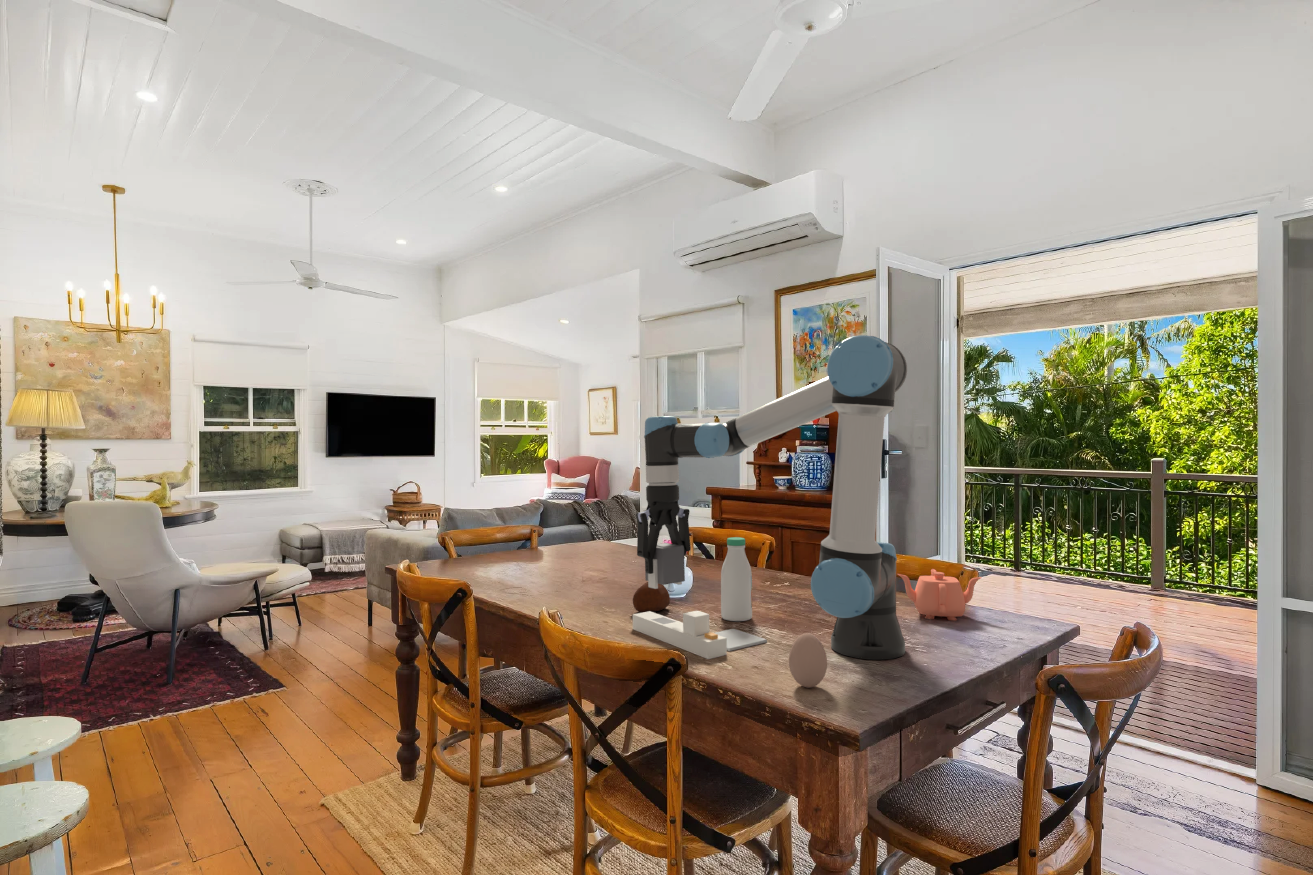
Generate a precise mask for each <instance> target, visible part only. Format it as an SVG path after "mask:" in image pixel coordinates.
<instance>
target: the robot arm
mask: <svg viewBox="0 0 1313 875" xmlns="http://www.w3.org/2000/svg"><path fill="white" fill-rule="evenodd" d="M826 366H827V367H826V372H827V376H826V377H824V378H822V379H819V380H817V381H815V382H813V383H810V384H809V385H806V386H804V387H801V388H800V389H797V390H795V391H792V392H790V393H789V394H786V395H784V396H781V397H778V398H777V399H775V400H773V401H770V402H768V403H766V404H764V405H761V406H759V407H757V408H755V409H753V410H751V411H748V412H746V413H744V414H741V415H739V416H737V417H735V418H732V419H730V420H728V421H726V422H724V423H720V422H718V423H717V422H716V423H715V422H704V423H688V424H679V423H678V419H677V417H676V416H673V415H672V416H671V415H669V416H668V415H667V416H650V417H647V418H646V419H645V421H644V436H643V438H644V447H645V448H644V449H645V451H644V452H645V482H646V484H648V485H647V486H646V487H645V494H646V495H645V497H646V502H647V506H646V508H645V510H644V511H642V512H638V511H637V512H636V514H635V517H636V518H635V519H636V521H637V539H636V540H637V541H636V543H637V544H636V546H637V547H636V555H637V556H638V557H641V558H643V559H644V570H645V571H646V573H648V581H647V582H648V587H650V588H654V589H657V588H658V572H657V559H654V556H655V551H656V547H657V544H658V542H659V537H660V533H661V530H662V529H663V526H665V527H666V529H667V532H668V535H669V539H670V541H671V543H670V544H676V545H682V546H684V557H685V556H686V555H687V553H688V552H690V551H691V538H690V524H689V517H690V509H689V508H683V507H680V504H679V500H680V486H679V485H678V484H677V483H679V481H680V477H679V476H680V474H679V473H680V472H679V471H680V470H679V469H680V468H679V459H682V458H689V459H690V458H706V459H711V458H712V459H714V458H720V457H721V458H722V457H734V456H737V455H739V454H742V453H743V452H745V450H746V449H749V448H750V447H752V446H755V445H757V444H759V443H760V444H761V443H762V442H764V441H766V440H769V439H771V438H773V437H776V436H778V435H782V434H784V433H787V432H789V431H791V430H793V429H795V428H798V427H800V426H803V425H805V424H808V423H810V422H813V421H815V420H817V419H820V418H822V417H824V416H827V415H829V414H832V413H834V412H837V413H838V421H837V422H838V423H837V431H836V432H837V434H836V435H837V436H836V447H835V448H836V450H835V460H834V473H833V486H832V497H831V498H832V499H831V509H830V512H831V513H830V522H829V523H830V524H829V534H828V535H827V536H826V537H825V538H824V539H822V540H821V541H820V548H819V549H820V550H819V561H818V562H819V563H818V564H817V565H816V566H815V568H814V571H813V572H812V574H811V578H810V591H811V593H812V596H813V599H814V600H815V602H816V603H817V604H818V606H819V607H820V608H821V609H822V610H823V611H825V613H827V614H829V615H831V616H834V617H836V621H835V623H834V627H833V630H832V633H831V634H830V635H831V636H830V647H831V649H832V650H833V651H834V652H835V653H838V654H840V655H844V656H847V657H851V658H856V659H863V660H876V661H877V660H878V661H879V660H883V661H884V660H891V659H897V658H900V657H902V656H904V655H905V654H906V641H905V638H904V636H903V632H902V629H901V626H900V623H899V619H898V617H897V560H898V557H897V553H896V552H897V551H896V548H895V546H894V545H893V544H892V543H889V542H881V541H876V529H877V528H876V527H877V518H878V516H877V515H878V514H877V513H878V504H879V503H878V502H879V490H880V478H881V467H882V466H881V465H882V453H883V444H884V443H883V441H884V431H885V430H884V428H885V417H886V416H887V415H888V414H889V413H890V412H892V410H894V407H895V397H896V392H897V391H899V390H900V389H901V387H902V386H903V385H904V383H905V380H906V378H907V374H908V363H907V361H906V357H905V356H904V354H903V352H901V351H900V349H899V348H898V347H896V346H895V345H893V344H892V343H889V342H886V341H885V340H882V339H881V338H879V337H877V336H874V335H862V334H860V335H853V336H849V337H848V338H845V339H844V340H842V341H841V342H839V343H838V344H837V345H836V346H835V348H833V350H832V351H831V353H830V355H829V358H828V360H827V365H826ZM649 520H650V521H649ZM673 584H674V585H678V586H679V585H682V584H683V582H677V583H673Z"/></svg>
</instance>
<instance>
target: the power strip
mask: <svg viewBox="0 0 1313 875" xmlns="http://www.w3.org/2000/svg"><path fill="white" fill-rule="evenodd" d="M632 630H634V631H636V632H638V633H642V634H644V635H646V636H648V637H652V638H654V639H657V640H659V641H661V642H664V643H666V644H669V645H672V646H674V647H677V648H679V649H682V650H684V651H687V652H689V653H692V654H694V655H696V656H699V657H702V658H704V659H706V660H710V659H711V660H712V659H715V658H719V657H723V656H727V655H728V653H727V638H725V637H722V636H720V635H718V634H715V633H716V632H711V631H709V632H708V633H705V634H702V635H698V636H693V635H690V634H688V633H685V632H683V621H679V620H676V619H673V618H671V617H667V616H665V615H663V614H660V613H656V612H651V611H649V612H643V613H642V612H638V613H632Z"/></svg>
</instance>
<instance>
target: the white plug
mask: <svg viewBox="0 0 1313 875" xmlns="http://www.w3.org/2000/svg"><path fill="white" fill-rule="evenodd" d="M682 623H683V632H685V633H688V634H690V635H693V636H698V635H702V634H705V633H708V632H710V614H709V613H706V612H704V611H702V610H701V611H700V610H693V611H688V612H687V611H686V612H683V613H682Z"/></svg>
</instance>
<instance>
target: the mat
mask: <svg viewBox="0 0 1313 875" xmlns="http://www.w3.org/2000/svg"><path fill="white" fill-rule="evenodd" d="M714 633H715V634H718V635H720V636H722V637H725V638H727V651H728V652H731V651H735V650H740V649H744V648H748V647H753V646H757V645H760V644H766V643H768V640H767V639H766V638H763V637H760V636H757V635H754V634H751V633H748V632H745V631H742V630H739V629H736V628H731V629H725V630H721V631H716V632H714Z"/></svg>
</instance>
